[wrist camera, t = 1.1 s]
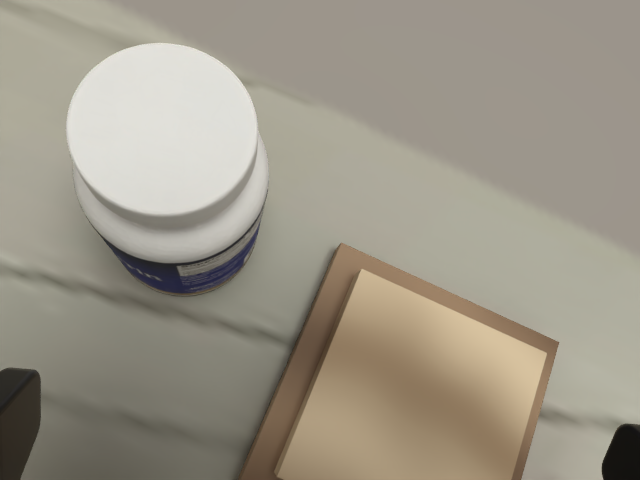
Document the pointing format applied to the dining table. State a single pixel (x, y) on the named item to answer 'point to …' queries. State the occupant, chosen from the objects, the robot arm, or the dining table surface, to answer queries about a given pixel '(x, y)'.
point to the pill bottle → (169, 165)
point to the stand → (401, 385)
